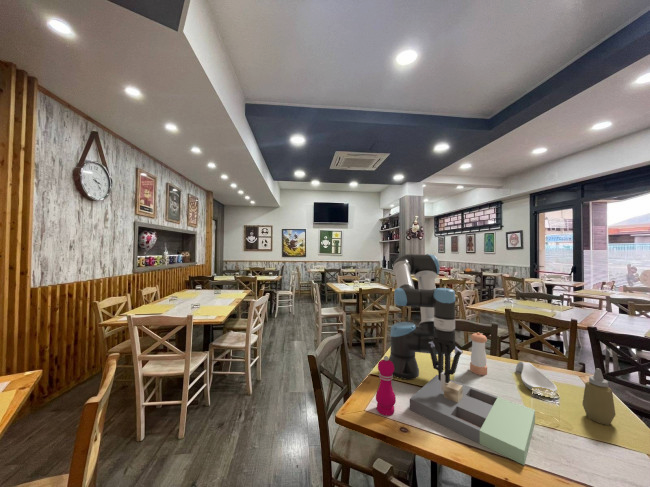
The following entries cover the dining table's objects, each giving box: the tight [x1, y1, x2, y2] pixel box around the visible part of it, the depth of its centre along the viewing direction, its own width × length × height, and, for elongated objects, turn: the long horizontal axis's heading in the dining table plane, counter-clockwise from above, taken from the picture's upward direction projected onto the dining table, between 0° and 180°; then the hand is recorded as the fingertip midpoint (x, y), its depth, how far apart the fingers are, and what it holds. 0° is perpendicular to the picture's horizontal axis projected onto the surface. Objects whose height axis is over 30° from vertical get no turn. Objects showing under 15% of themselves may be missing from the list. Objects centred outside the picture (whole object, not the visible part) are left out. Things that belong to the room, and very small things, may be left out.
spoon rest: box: [515, 361, 558, 393], centre depth 115 cm, size 24×12×7 cm, turn 163°
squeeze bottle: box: [582, 367, 617, 426], centre depth 91 cm, size 8×8×18 cm
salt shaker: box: [469, 331, 488, 376], centre depth 125 cm, size 7×7×19 cm
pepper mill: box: [375, 355, 397, 416], centre depth 94 cm, size 7×7×20 cm
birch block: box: [444, 381, 463, 403], centre depth 96 cm, size 5×5×4 cm
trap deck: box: [409, 374, 536, 466], centre depth 92 cm, size 34×26×4 cm
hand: (444, 389), depth 98 cm, fingers closed
